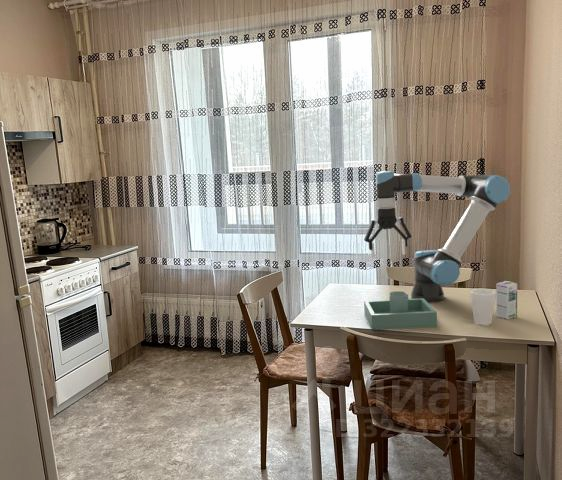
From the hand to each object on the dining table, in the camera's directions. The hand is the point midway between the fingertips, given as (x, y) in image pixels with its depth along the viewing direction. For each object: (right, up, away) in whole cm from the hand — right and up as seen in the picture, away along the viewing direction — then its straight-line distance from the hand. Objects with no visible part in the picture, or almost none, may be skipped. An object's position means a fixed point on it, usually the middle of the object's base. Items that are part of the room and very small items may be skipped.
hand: (388, 255), depth 221 cm
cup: (+3, -26, -9) cm, 27 cm away
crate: (+3, -27, -8) cm, 28 cm away
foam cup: (+34, -27, -17) cm, 47 cm away
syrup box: (+47, -25, -11) cm, 54 cm away
